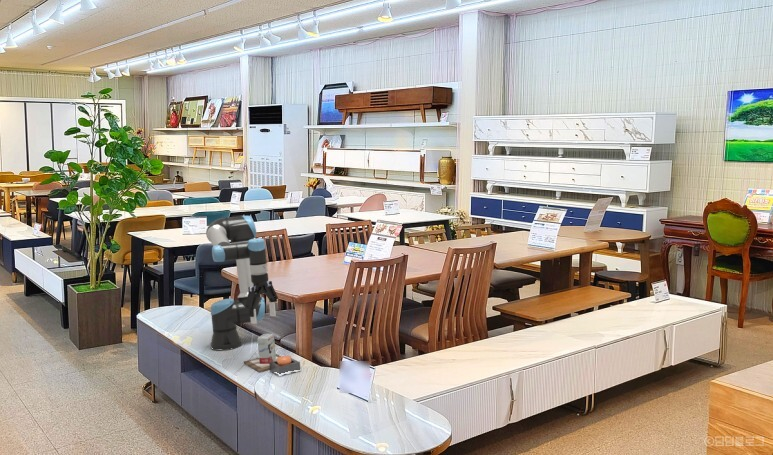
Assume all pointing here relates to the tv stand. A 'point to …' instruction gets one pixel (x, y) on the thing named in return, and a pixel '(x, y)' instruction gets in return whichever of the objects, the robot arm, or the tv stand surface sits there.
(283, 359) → the button cap
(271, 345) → the ink box
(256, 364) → the wooden picture frame
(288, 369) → the button housing
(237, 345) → the robot arm
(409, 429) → the tv stand surface
